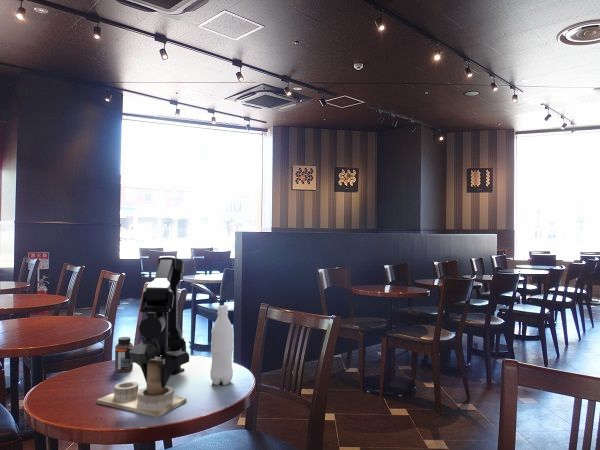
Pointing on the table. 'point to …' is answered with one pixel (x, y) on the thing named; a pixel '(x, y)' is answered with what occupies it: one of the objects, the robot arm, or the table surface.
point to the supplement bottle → (123, 355)
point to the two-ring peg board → (141, 399)
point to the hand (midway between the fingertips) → (156, 385)
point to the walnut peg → (154, 378)
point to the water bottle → (222, 348)
